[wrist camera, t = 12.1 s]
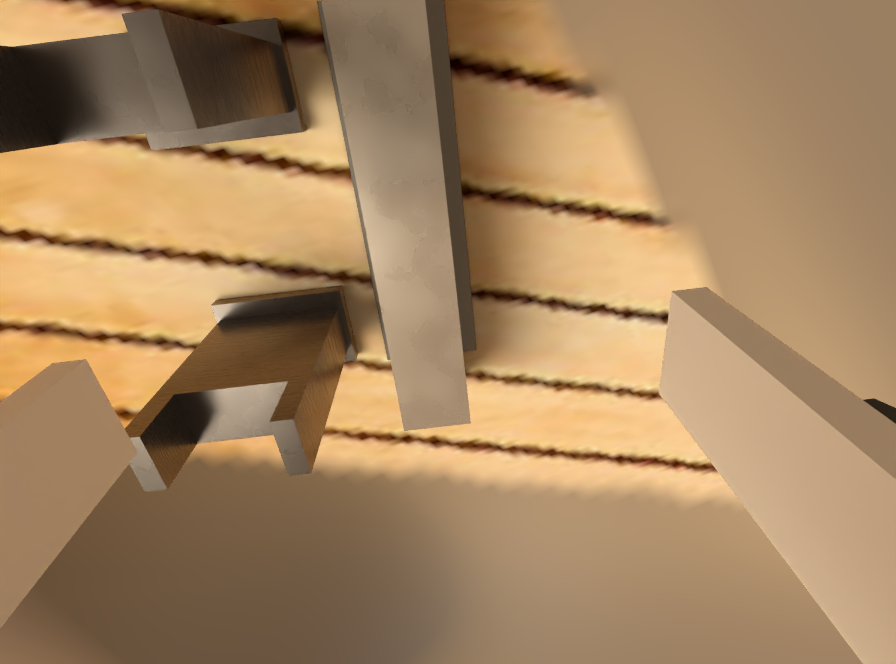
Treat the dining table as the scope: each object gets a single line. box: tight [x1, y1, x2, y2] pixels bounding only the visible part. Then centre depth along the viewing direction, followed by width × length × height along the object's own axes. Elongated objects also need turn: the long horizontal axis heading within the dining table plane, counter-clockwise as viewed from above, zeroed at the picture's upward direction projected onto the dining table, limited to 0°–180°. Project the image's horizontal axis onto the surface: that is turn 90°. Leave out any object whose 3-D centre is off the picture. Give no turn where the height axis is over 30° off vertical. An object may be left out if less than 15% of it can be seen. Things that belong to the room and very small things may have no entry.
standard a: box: [0, 9, 306, 153], centre depth 19 cm, size 5×8×12 cm, turn 96°
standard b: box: [125, 286, 358, 492], centre depth 25 cm, size 5×8×12 cm, turn 96°
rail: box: [321, 0, 471, 431], centre depth 25 cm, size 24×4×5 cm, turn 6°
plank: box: [317, 0, 476, 360], centre depth 27 cm, size 20×6×1 cm, turn 6°
